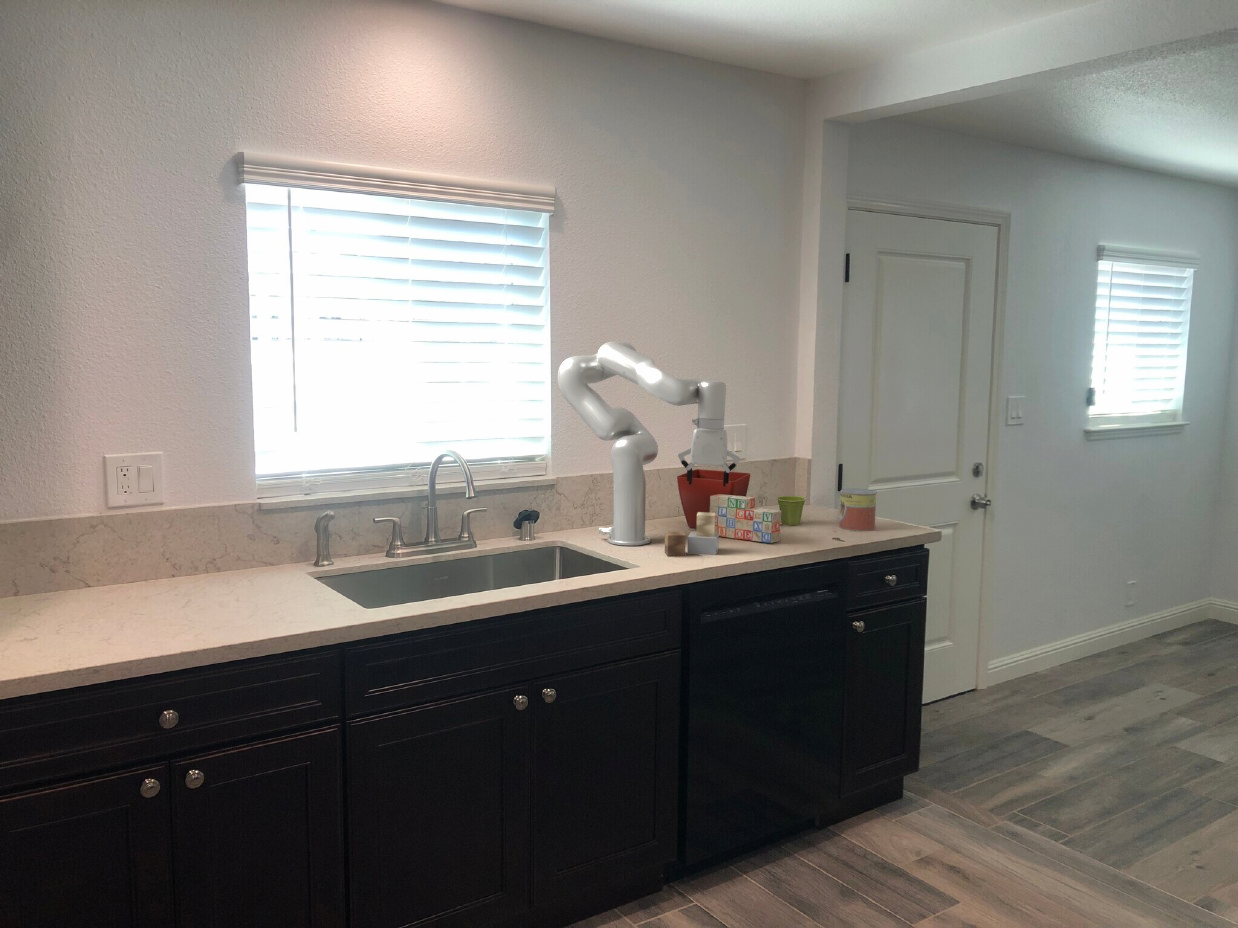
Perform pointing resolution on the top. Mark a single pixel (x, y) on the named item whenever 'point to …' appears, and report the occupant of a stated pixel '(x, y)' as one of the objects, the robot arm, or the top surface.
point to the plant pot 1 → (708, 490)
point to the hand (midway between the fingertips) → (707, 484)
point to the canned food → (857, 510)
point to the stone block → (702, 544)
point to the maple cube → (705, 524)
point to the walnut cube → (675, 544)
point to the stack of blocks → (744, 519)
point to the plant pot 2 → (791, 509)
